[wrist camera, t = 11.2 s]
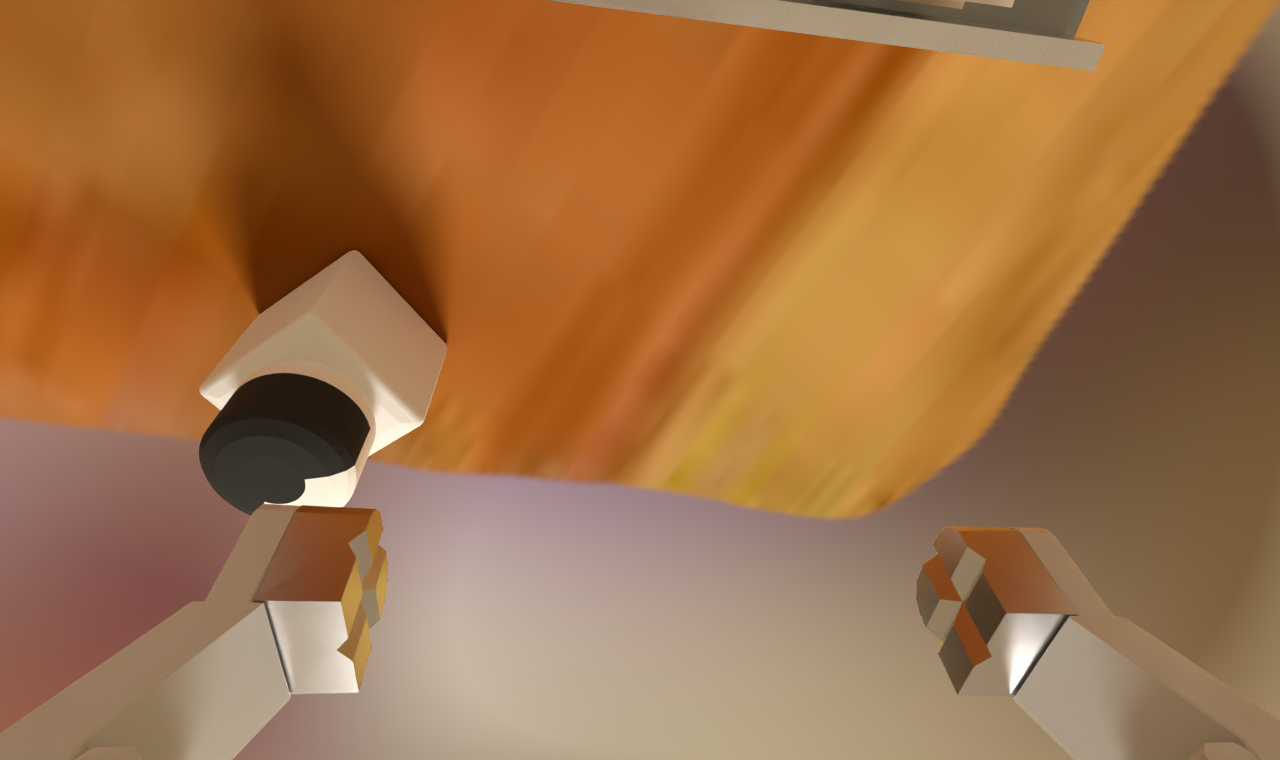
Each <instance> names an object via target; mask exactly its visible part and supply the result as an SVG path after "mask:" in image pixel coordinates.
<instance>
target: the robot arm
mask: <svg viewBox="0 0 1280 760" xmlns="http://www.w3.org/2000/svg"><path fill="white" fill-rule="evenodd" d="M382 531H383V525H382V519H381V514H380V511H378V510H376V509H363V508H345V507H326V506H308V505H302V506H294V505H276V504H262V505H261V506H260V507H259V508H257V509H256V510H255V511H254V512H253V513H252V515H251V517H250V519H249V521H248V523H247V524H246V526H245V528H244V530H243V532H242V534H241V536H240V538H239V539H238V541H237V543H236V545H235V546H234V548H233V550H232V552H231V554H230V556H229V558H228V559H227V561H226V563H225V565H224V567H223V568H222V570H221V572H220V574H219V576H218V578H217V579H216V581H215V583H214V585H213V587H212V589H211V590H210V592H209V594H208V596H207V598H206V600H205V601H204V602H191V603H189V604H188V605H186V606H185V607H184V608H182V609H180V610H179V611H178V612H176V613H175V614H173V615H172V616H170V617H169V618H167V619H166V620H164V621H163V622H162V623H160V624H159V625H157V626H156V627H154V628H153V629H151V630H150V631H149V632H147V633H146V634H144V635H143V636H141V637H140V638H138V639H137V640H135V641H134V642H132V643H131V644H129V645H128V646H127V647H125V648H124V649H122V650H121V651H119V652H118V653H116V654H115V655H114V656H112V657H111V658H109V659H108V660H106V661H105V662H103V663H102V664H100V665H99V666H98V667H96V668H95V669H93V670H92V671H90V672H89V673H87V674H86V675H84V676H83V677H81V678H80V679H78V680H77V681H76V682H74V683H73V684H71V685H70V686H68V687H67V688H65V689H64V690H63V691H61V692H60V693H58V694H57V695H55V696H54V697H52V698H51V699H49V700H48V701H47V702H45V703H43V704H42V705H41V706H39V707H38V708H36V709H35V710H33V711H32V712H30V713H29V714H27V715H26V716H25V717H23V718H22V719H20V720H19V721H17V722H16V723H14V724H13V725H12V726H10V727H9V728H7V729H6V730H4V731H3V732H1V733H0V760H232V759H233V758H234V757H235V756H236V755H237V754H238V753H239V752H240V751H241V750H242V749H243V747H245V745H246V744H247V743H248V742H249V741H250V740H251V739H252V738H253V737H254V736H255V735H256V734H257V733H258V732H259V731H260V730H261V729H262V728H263V727H264V726H265V725H266V724H267V722H269V720H270V719H271V718H272V717H273V716H274V715H275V714H276V713H277V712H278V711H279V710H280V709H281V708H282V707H283V706H284V705H285V704H286V703H287V702H288V701H289V700H290V699H291V696H290V694H314V693H315V694H316V693H357V692H359V690H360V686H361V683H362V679H363V676H364V673H365V669H366V666H367V662H368V659H369V655H370V652H371V648H372V647H371V640H370V634H369V629H370V628H371V627H372V626H373V625H374V624H375V623H376V622H378V621H379V620H380V617H381V613H382V609H383V606H384V602H385V596H386V589H387V582H388V562H387V553H386V551H385V550H384V549H383V548H382V547H380V546H379V545H378V544H379V540H380V538H381V535H382ZM933 545H934V548H935V550H936V552H937V554H938V555H937V556H935V557H934V558H932V559H931V560H929V561H928V562H927V563H925V564H924V565H923V566H922V569H921V572H920V574H919V577H918V579H917V590H916V599H917V604H918V608H919V613H920V615H921V617H922V619H923V622H924V624H925V626H926V628H927V629H928V630H930V631H931V632H932V633H933V634H935V635H936V636H937V637H938V638H939V639H941V640H942V642H941V646H940V649H939V653H938V655H939V657H940V659H941V661H942V663H943V665H944V667H945V669H946V672H947V674H948V676H949V678H950V680H951V682H952V684H953V686H954V689H955V691H956V693H957V694H958V695H978V696H1008V697H1010V696H1011V697H1014V699H1013V700H1014V701H1015V702H1016V703H1017V704H1018V705H1019V706H1020V707H1021V708H1022V709H1023V710H1024V711H1025V712H1026V713H1027V714H1028V715H1029V716H1030V717H1031V718H1032V719H1033V720H1034V721H1035V722H1036V723H1037V724H1038V725H1039V726H1040V727H1042V728H1043V730H1045V731H1046V732H1047V733H1048V734H1049V735H1050V736H1051V737H1052V738H1053V739H1054V740H1055V741H1056V742H1057V743H1058V744H1059V745H1060V746H1061V747H1062V748H1063V749H1064V750H1065V751H1066V752H1067V753H1068V754H1069V755H1070V756H1071V757H1072V758H1073V759H1074V760H1280V720H1279V719H1277V718H1276V717H1274V716H1273V715H1271V714H1270V713H1268V712H1267V711H1265V710H1264V709H1262V708H1261V707H1259V706H1257V705H1256V704H1255V703H1253V702H1252V701H1250V700H1248V699H1247V698H1246V697H1244V696H1243V695H1241V694H1239V693H1238V692H1236V691H1235V690H1233V689H1232V688H1230V687H1229V686H1227V685H1226V684H1224V683H1223V682H1221V681H1220V680H1218V679H1217V678H1215V677H1214V676H1212V675H1210V674H1209V673H1208V672H1206V671H1204V670H1203V669H1202V668H1200V667H1198V666H1197V665H1196V664H1194V663H1193V662H1191V661H1190V660H1188V659H1187V658H1185V657H1184V656H1182V655H1181V654H1179V653H1177V652H1176V651H1174V650H1173V649H1171V648H1170V647H1168V646H1167V645H1165V644H1164V643H1162V642H1161V641H1159V640H1158V639H1156V638H1155V637H1153V636H1152V635H1150V634H1149V633H1147V632H1146V631H1144V630H1143V629H1141V628H1140V627H1138V626H1136V625H1135V624H1134V623H1132V622H1130V621H1129V620H1128V619H1126V618H1124V617H1114V616H1113V615H1112V613H1111V612H1110V611H1109V609H1108V608H1107V607H1106V605H1105V604H1104V603H1103V601H1102V600H1101V598H1100V597H1099V596H1098V594H1097V593H1096V592H1095V590H1094V589H1093V588H1092V586H1091V585H1090V583H1089V582H1088V581H1087V579H1086V578H1085V577H1084V575H1083V574H1082V573H1081V571H1080V570H1079V568H1078V567H1077V566H1076V564H1075V563H1074V562H1073V560H1072V559H1071V558H1070V556H1069V555H1068V553H1067V552H1066V551H1065V549H1064V548H1063V547H1062V546H1061V544H1060V543H1059V541H1058V540H1057V538H1056V537H1055V536H1054V535H1053V534H1052V533H1051V532H1049V531H1048V530H1046V529H1045V528H1006V527H963V526H962V527H961V526H960V527H959V526H946V527H945V528H944V529H943V530H941V531H940V532H939V533H938V535H937V537H936V539H935V541H934V543H933Z"/></svg>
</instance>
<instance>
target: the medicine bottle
mask: <svg viewBox="0 0 1280 760" xmlns="http://www.w3.org/2000/svg"><path fill="white" fill-rule="evenodd" d="M446 352H447V345H446V344H445V342H444V341H443V340H442V339H441V338H440V337H439V336H438V335H437V334H436V333H435V332H434V331H433V330H432V329H431V328H430V326H429V325H428V324H427V323H426V322H425V321H424V320H423V319H422V318H421V317H420V316H419V315H418V314H417V313H416V312H415V311H414V309H413V308H412V307H411V306H410V305H409V304H408V303H407V302H406V301H405V300H404V299H403V298H402V297H401V296H400V295H399V293H398V292H397V291H396V290H395V289H394V288H393V287H392V286H391V285H390V284H389V283H388V282H387V281H386V280H385V279H384V277H383V276H382V275H381V274H380V273H379V272H378V271H377V270H376V269H375V268H374V267H373V266H372V265H371V264H370V263H369V261H368V260H367V259H366V258H365V257H364V256H363V255H362V254H361V253H360V252H359V251H357V250H352V251H349V252H348V253H346V254H345V255H343V256H342V257H340V258H339V259H338V260H336V261H335V262H333V263H332V264H331V265H329V266H328V267H326V268H325V269H323V270H322V271H321V272H319V273H318V274H316V275H315V276H313V277H312V278H311V279H309V280H308V281H306V282H305V283H303V284H302V285H301V286H299V287H298V288H296V289H295V290H293V291H292V292H291V293H289V294H288V295H286V296H285V297H283V298H282V299H281V300H279V301H278V302H276V303H275V304H274V305H272V306H271V307H269V308H268V309H266V310H265V311H264V312H262V313H261V314H259V315H258V316H257V317H256V318H255V320H254V321H253V322H252V323H251V325H250V326H249V327H248V328H247V329H246V331H245V332H244V333H243V334H242V336H241V337H240V338H239V339H238V340H237V342H236V343H235V344H234V345H233V347H232V348H231V349H230V350H229V352H228V353H227V354H226V355H225V356H224V358H223V359H222V360H221V361H220V363H219V364H218V365H217V366H216V367H215V369H214V370H213V371H212V372H211V374H210V375H209V376H208V377H207V378H206V380H205V381H204V382H203V383H202V385H201V386H200V389H199V390H200V393H201V395H202V396H204V397H205V398H206V399H207V400H209V401H210V402H211V403H212V404H213V405H215V406H216V407H217V408H218V409H220V410H221V411H220V413H219V414H218V415H217V417H216V418H215V419H214V421H213V422H212V423H211V425H210V426H209V428H208V429H207V430H206V432H205V434H204V435H203V437H202V440H201V443H200V448H199V459H200V463H201V467H202V469H203V471H204V474H205V476H206V478H207V480H208V481H209V483H210V484H211V486H212V487H213V489H214V490H215V491H216V492H217V493H218V494H219V495H220V496H221V497H222V498H223V499H224V500H226V501H227V502H228V503H230V504H231V505H232V506H234V507H235V508H237V509H239V510H240V511H242V512H244V513H247V514H249V515H252V513H253V512H254V511H255V510H256V509H257V508H259V507H260V506H261V505H262V504H276V505H294V506H302V505H308V506H326V507H343V506H344V505H345V504H346V503H347V502H348V501H349V499H350V498H351V496H352V495H353V492H354V490H355V487H356V485H357V482H358V480H359V477H360V475H361V473H362V470H363V468H364V465H365V463H366V460H367V458H368V456H370V455H371V454H373V453H375V452H377V451H378V450H380V449H382V448H383V447H385V446H387V445H388V444H390V443H392V442H393V441H395V440H397V439H398V438H400V437H402V436H403V435H405V434H407V433H408V432H410V431H412V430H413V429H415V428H417V427H418V426H420V425H421V424H422V423H423V422H424V420H425V417H426V414H427V411H428V408H429V404H430V401H431V398H432V395H433V392H434V389H435V386H436V383H437V380H438V377H439V374H440V371H441V368H442V365H443V362H444V359H445V355H446Z"/></svg>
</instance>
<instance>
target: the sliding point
mask: <svg viewBox="0 0 1280 760" xmlns="http://www.w3.org/2000/svg"><path fill="white" fill-rule="evenodd" d="M899 1H906V2H913V3H921V4H928V5H935V6H943V7H950V8H957V9H963V6H964V3H965V1H967V2H974V3H981V4H989V5H996V6H1003V7H1010V8H1012V6H1013V3H1014V0H899Z"/></svg>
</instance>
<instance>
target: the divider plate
mask: <svg viewBox="0 0 1280 760" xmlns="http://www.w3.org/2000/svg"><path fill="white" fill-rule="evenodd" d="M551 1H558V2H566V3H574V4H581V5H589V6H597V7H605V8H612V9H620V10H628V11H635V12H643V13H651V14H658V15H666V16H674V17H681V18H689V19H697V20H704V21H712V22H720V23H728V24H735V25H743V26H751V27H758V28H766V29H774V30H781V31H789V32H797V33H804V34H812V35H820V36H828V37H835V38H843V39H851V40H858V41H866V42H874V43H881V44H889V45H897V46H904V47H912V48H920V49H928V50H935V51H943V52H951V53H958V54H966V55H974V56H981V57H989V58H997V59H1004V60H1012V61H1020V62H1028V63H1035V64H1043V65H1051V66H1058V67H1066V68H1074V69H1081V70H1089V71H1094V70H1095V68H1096V66H1097V64H1098V61H1099V59H1100V57H1101V54H1102V52H1103V50H1104V48H1105V45H1106V44H1102V43H1098V42H1095V41H1091V40H1087V39H1083V38H1080V37H1076V36H1075V34H1076V32H1077V29H1078V27H1079V24H1080V22H1081V20H1082V17H1083V15H1084V12H1085V10H1086V8H1087V5H1088V3H1089V0H1014V3H1013V6H1012V8H1010V7H1003V6H996V5H989V4H981V3H974V2H967V1H965V3H964V6H963V9H957V8H950V7H943V6H935V5H928V4H921V3H913V2H906V1H899V0H551Z"/></svg>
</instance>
